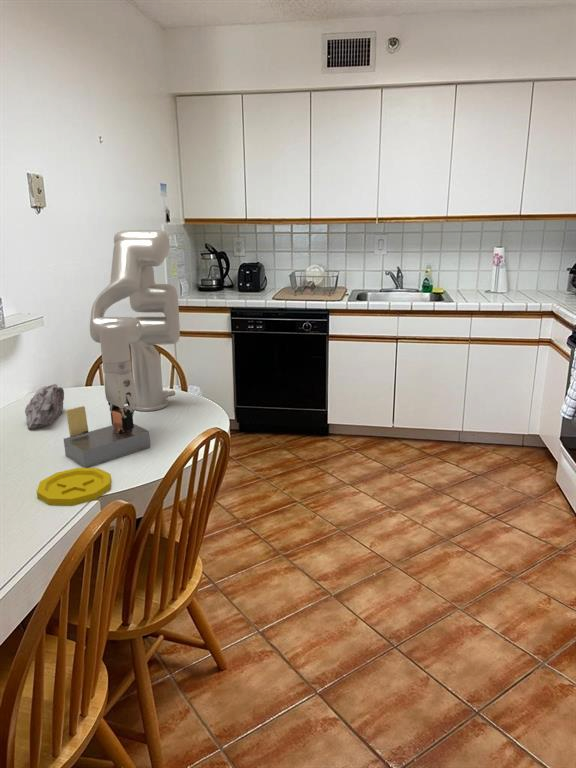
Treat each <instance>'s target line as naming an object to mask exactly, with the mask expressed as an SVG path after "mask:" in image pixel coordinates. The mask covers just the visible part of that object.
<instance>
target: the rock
mask: <svg viewBox="0 0 576 768" xmlns="http://www.w3.org/2000/svg"><path fill="white" fill-rule="evenodd" d="M64 400H65V391H64V389H63V387H61V386H58V383H53V384H50V385H48V386H41V387H40V388H38V389H37V391H36V392H35V393H34V395H33V396H32V398H30V400H29V403H28V404H26V407H25V410H24V413H25V416H26V417H25V418H26V419H25V420H26V424H27V429H28V430H33V429H39V428H41V427H43V426H44V427H45V426H51V425H52V423H54V421H55V420H56V419H58V418H59V416H60V414H62V413H63V411H64Z"/></svg>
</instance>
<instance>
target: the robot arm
mask: <svg viewBox="0 0 576 768" xmlns="http://www.w3.org/2000/svg"><path fill="white" fill-rule="evenodd" d="M113 244H114V246H113V248H112V249H113V251H112V261H111V271H110V280H109V284H108V285H107V286H106V287H105V288H104V289H103V290H102V291H100V293H99V294H98V296H96V298H95V300H94V301H93V304H92V307H91V311H90V318H89V319H90V321H89V334H90V337H91V339H92V340H93V341H94V343H98V344H100V352H101V360H102V361H101V362H102V369H103V370H102V371H103V374H104V376H103V377H104V393H105V399H106V401H107V403H108V404H107V405H108V406H109V412H110V419H111V426H112V425H113V417H112V411H113V410H114V409H118V408H121V411H122V415H123V417H122V427H123V431H127V430H130V429H133V428H134V425H133V424H134V418H133V417H134V414H135V411H139V412H140V411H141V412H150V411H157V410H162V409H164V408H166V407H167V406H169V401H168V397H170V398H171V397H174V396H175V395H176V391H175V390H170V391H168V390H164V389H163V386H164V385H163V376H162V375H163V372H162V361H161V354H160V353H159V352H158V350H157V348H155V346H156V345H158V346H159V345H163V346H164V345H166V346H167V345H175V344H178V342H179V340H180V334H181V332H180V331H181V330H180V309H179V297H178V292H177V289H176V288H175V286H174V285H172V284H170V283H169V284H168V283H156V281H155V270H154V267H160V265H162V264H163V262H164V261H165V260H166V258H167V256H168V254H169V251H170V238H169V235H168V234H167V233H166V232H165V231H163V230H159V229H158V230H157V229H154V230H152V229H151V230H149V229H148V230H147V229H146V230H145V229H144V230H142V229H141V230H140V229H139V230H138V229H137V230H135V229H130V230H121V231H118V232H116V233H115V235H114V236H113ZM128 297H129V304H130V308H131V309H132V310H133V311H134V312H135V313H143V314H144V313H146V314H147V313H150V314H152V313H155V314H156V313H160V314H161V313H163V315H164V316H136V317H132V316H105V313H106V312H107V310H108V309H109V308H110V307H111V306H112V305H114V304H116V303H118V302H120V301H122V300H124V299H126V298H128ZM130 352H131V353H130ZM131 358H132V359H131ZM131 360H132V361H131ZM132 369H133V370H132ZM126 408H128V410H127V411H126V412H125V409H126Z"/></svg>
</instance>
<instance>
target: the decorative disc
mask: <svg viewBox="0 0 576 768" xmlns="http://www.w3.org/2000/svg"><path fill="white" fill-rule="evenodd" d="M111 475H112V474H111V473H109V472H107V471H105V470H103V469H101V468H99V467H87V468H84V467H75V468H72V469H70V468H69V469H67V470H62V471H58V472H55V473H53V474H51V475H50V476H48V477H46V478H44V479H43V480H40V481H39V484H38V486H37V489H36V496H37V499H39V500H40V501H43V502H44V503H45V504H47V505H49V506H75V505H79V504H82V503H87V502H90V501H94V500H97V499H99V498H100V497H101V496H103V495H104V494H106V493H107V492H109V491H110V490H111V489H112V488H111V487H112V476H111Z"/></svg>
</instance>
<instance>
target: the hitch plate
mask: <svg viewBox="0 0 576 768" xmlns="http://www.w3.org/2000/svg"><path fill="white" fill-rule="evenodd" d="M133 425H134V428H133V429H132V430H131V431H130V432H127V433H122V434H119V433H115V432H114V427H113V425H112V424H111V425H109V426H105V427H102V428H98V429H94V430H91V431H89V432H88V433H86V434H82V435H78V436H75V437H70V436H69V437H66V438H63V446H64V453H65V456H66V457H68V458H69V459H70V458H71V460H72V461H73V460H74V461H73V462H75V463H77V464H78V465H79V466H81V468H91V467H93V466H96V465H99V464H102V463H105V462H109V461H112V460H116V459H119V458H122V457H125V456H128V455H131V454H135V453H137V452H141V451H143V450H146V449H151V438H150V436H151V435H150V430H148V429H146V428H143V427H142V426H139V425H138V424H135V423H133Z"/></svg>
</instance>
